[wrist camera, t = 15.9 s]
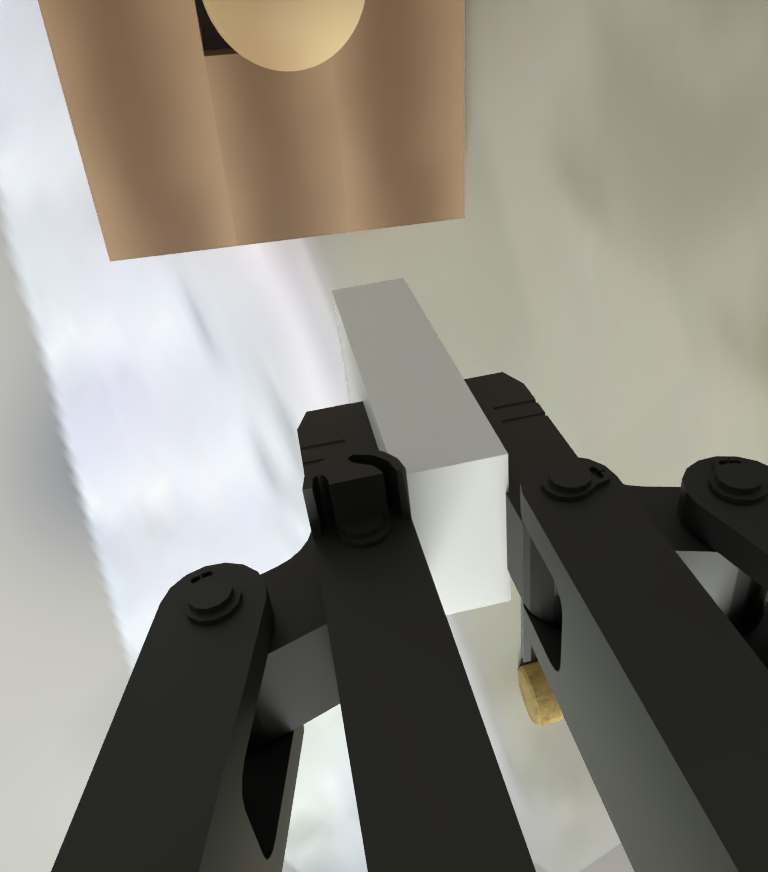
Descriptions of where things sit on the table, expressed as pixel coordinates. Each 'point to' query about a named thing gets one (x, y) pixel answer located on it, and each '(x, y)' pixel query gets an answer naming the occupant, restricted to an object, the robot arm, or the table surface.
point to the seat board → (260, 126)
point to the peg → (285, 29)
